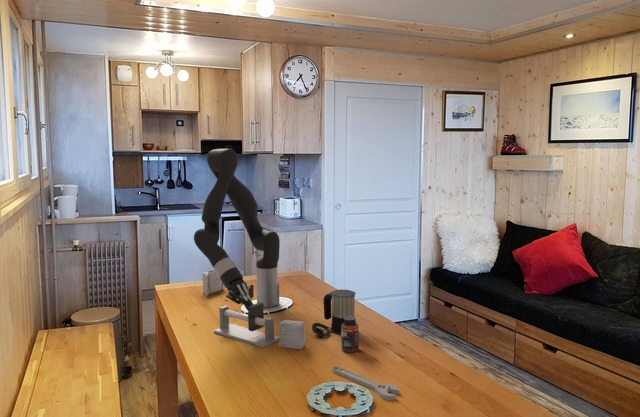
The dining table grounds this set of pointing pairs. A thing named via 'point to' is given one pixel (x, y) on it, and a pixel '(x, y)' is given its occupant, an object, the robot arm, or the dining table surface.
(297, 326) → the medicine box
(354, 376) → the adjustable wrench
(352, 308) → the milk frother
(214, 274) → the grey rectangular block
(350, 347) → the supplement bottle
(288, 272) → the dining table surface
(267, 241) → the robot arm
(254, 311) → the collar
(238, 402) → the dining table surface
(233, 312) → the pipe stand
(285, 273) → the dining table surface
